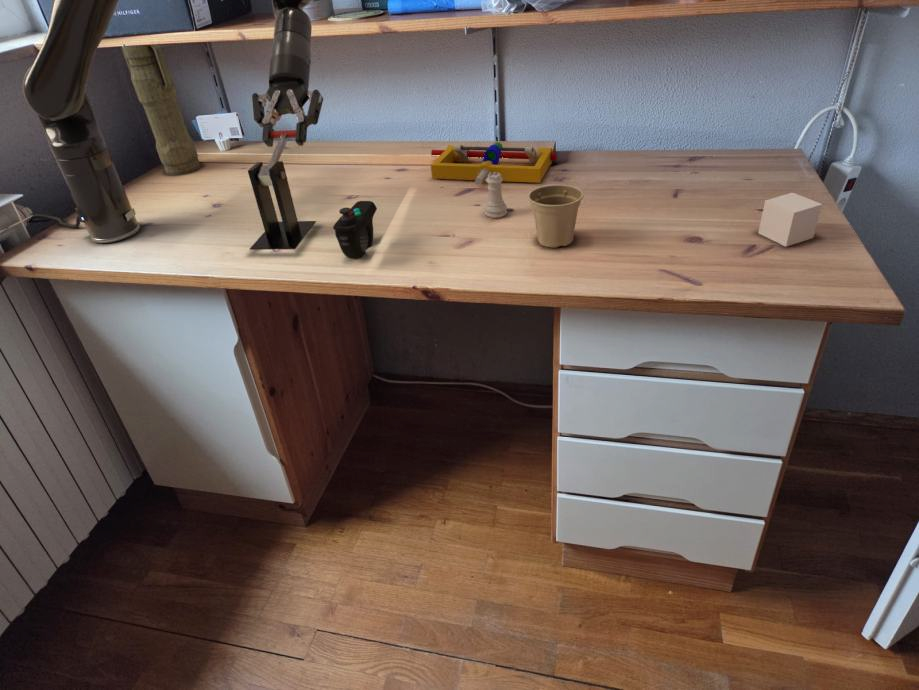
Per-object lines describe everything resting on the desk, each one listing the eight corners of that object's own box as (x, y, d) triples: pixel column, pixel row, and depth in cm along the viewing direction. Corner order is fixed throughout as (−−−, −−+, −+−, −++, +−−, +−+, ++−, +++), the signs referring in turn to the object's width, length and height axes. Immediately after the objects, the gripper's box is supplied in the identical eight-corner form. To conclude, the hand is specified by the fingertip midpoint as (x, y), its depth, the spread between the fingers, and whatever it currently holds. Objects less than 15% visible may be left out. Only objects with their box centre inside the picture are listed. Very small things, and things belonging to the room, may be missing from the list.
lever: (275, 138, 122) (270, 127, 120) (302, 136, 121) (298, 126, 119) (253, 186, 114) (248, 175, 112) (282, 185, 113) (277, 174, 111)
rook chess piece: (488, 208, 125) (485, 170, 121) (509, 210, 124) (508, 170, 119) (482, 218, 122) (479, 178, 117) (504, 219, 121) (502, 179, 116)
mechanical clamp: (433, 132, 149) (558, 134, 140) (435, 158, 153) (557, 161, 144) (404, 158, 135) (540, 163, 126) (407, 186, 139) (540, 192, 130)
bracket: (275, 227, 127) (255, 155, 118) (317, 226, 125) (300, 153, 116) (251, 255, 117) (227, 178, 108) (296, 254, 115) (276, 177, 107)
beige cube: (784, 225, 109) (792, 192, 106) (813, 238, 105) (822, 204, 101) (758, 233, 108) (765, 200, 104) (785, 246, 103) (794, 212, 99)
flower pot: (530, 228, 116) (530, 184, 111) (582, 228, 114) (583, 183, 109) (526, 252, 109) (525, 205, 104) (581, 252, 107) (583, 205, 102)
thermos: (190, 176, 157) (137, 21, 136) (153, 174, 160) (96, 23, 140) (212, 163, 163) (165, 14, 143) (176, 162, 167) (125, 16, 147)
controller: (338, 269, 109) (326, 216, 104) (363, 237, 119) (353, 187, 113) (361, 270, 108) (351, 216, 103) (384, 238, 118) (376, 187, 112)
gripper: (246, 54, 120) (239, 137, 117) (318, 49, 117) (312, 133, 115) (264, 76, 127) (258, 155, 124) (332, 72, 125) (326, 152, 122)
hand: (283, 144), depth 120 cm, fingers closed on lever, 5 cm apart
